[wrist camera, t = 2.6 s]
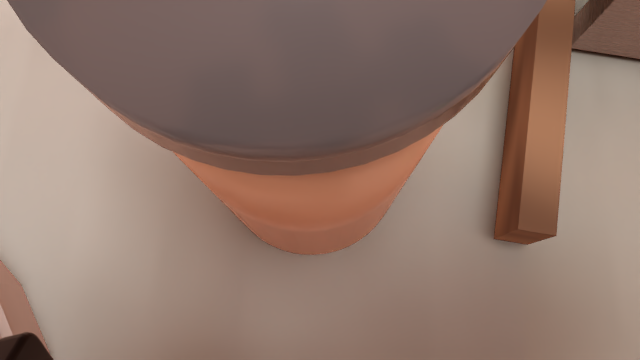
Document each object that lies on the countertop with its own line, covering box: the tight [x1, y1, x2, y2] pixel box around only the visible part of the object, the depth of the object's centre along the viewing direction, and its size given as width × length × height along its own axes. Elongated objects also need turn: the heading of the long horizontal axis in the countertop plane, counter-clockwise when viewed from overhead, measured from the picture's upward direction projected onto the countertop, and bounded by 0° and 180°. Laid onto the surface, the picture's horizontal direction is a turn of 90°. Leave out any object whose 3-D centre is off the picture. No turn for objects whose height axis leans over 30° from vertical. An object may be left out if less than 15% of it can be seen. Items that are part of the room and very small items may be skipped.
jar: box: [7, 0, 547, 255], centre depth 13 cm, size 7×7×14 cm
